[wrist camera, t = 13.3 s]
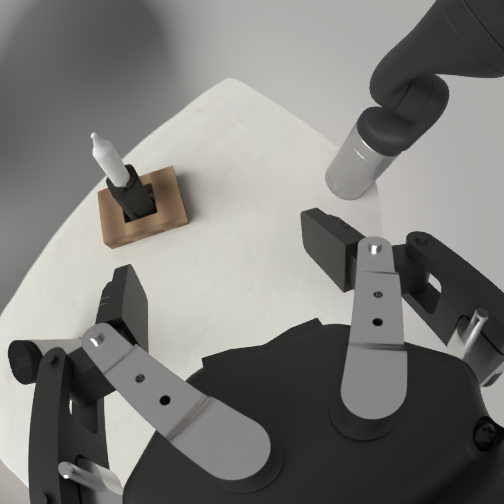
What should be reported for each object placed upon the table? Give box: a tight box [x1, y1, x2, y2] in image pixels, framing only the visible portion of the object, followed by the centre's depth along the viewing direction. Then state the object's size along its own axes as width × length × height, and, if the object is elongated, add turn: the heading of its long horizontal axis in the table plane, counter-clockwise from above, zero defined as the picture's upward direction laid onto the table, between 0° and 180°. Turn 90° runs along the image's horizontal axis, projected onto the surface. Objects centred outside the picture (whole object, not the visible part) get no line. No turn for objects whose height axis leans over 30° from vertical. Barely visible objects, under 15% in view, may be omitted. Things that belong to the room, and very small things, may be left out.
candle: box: [91, 132, 158, 221], centre depth 39 cm, size 5×5×25 cm
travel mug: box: [8, 339, 82, 385], centre depth 33 cm, size 6×7×20 cm
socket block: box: [98, 166, 189, 249], centre depth 49 cm, size 16×11×4 cm
